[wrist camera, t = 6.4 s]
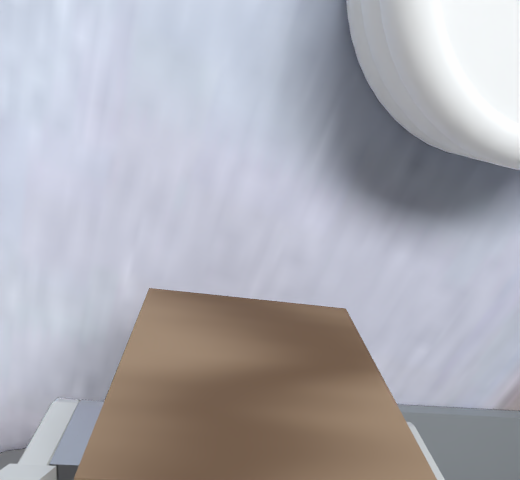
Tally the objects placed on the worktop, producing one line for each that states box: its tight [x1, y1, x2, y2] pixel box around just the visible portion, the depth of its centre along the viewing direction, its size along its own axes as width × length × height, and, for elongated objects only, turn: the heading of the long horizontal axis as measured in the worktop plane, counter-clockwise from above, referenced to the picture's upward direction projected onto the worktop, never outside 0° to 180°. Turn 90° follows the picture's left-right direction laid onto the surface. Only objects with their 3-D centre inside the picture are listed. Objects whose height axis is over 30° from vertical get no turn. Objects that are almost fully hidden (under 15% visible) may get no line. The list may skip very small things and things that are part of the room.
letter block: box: [74, 288, 437, 480], centre depth 8 cm, size 5×5×5 cm
